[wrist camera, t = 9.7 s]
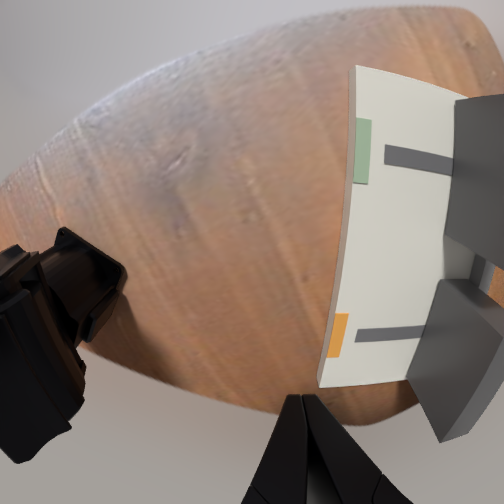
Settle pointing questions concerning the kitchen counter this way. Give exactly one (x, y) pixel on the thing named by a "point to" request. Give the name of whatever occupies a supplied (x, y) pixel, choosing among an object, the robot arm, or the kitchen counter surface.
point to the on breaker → (479, 177)
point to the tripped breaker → (459, 358)
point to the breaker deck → (393, 228)
